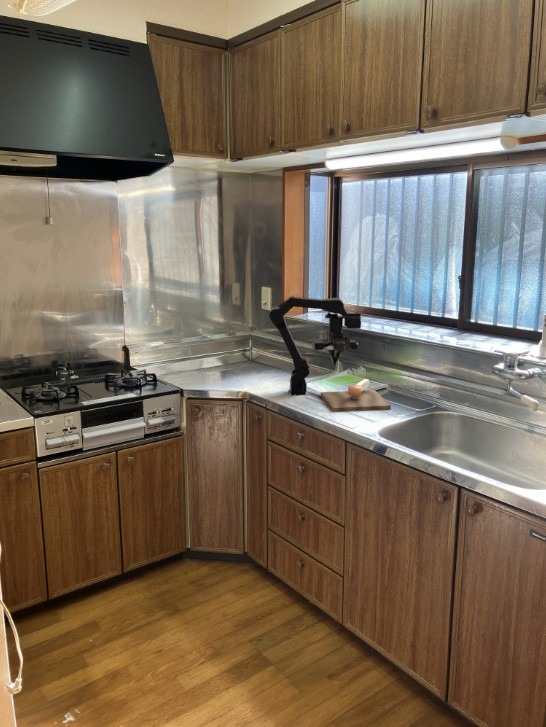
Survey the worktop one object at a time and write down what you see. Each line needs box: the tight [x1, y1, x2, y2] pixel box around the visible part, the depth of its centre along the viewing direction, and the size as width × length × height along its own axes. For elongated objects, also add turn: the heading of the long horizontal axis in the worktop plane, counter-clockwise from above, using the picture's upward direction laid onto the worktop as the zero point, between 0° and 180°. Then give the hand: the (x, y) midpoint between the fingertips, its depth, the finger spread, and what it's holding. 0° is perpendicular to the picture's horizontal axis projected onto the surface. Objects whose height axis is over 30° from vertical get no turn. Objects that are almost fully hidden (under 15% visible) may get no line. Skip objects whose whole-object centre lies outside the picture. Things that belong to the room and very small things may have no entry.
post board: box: [320, 389, 392, 412], centre depth 247 cm, size 24×20×3 cm
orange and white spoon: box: [347, 378, 370, 396], centre depth 250 cm, size 16×6×3 cm, turn 150°
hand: (334, 364), depth 254 cm, fingers closed
